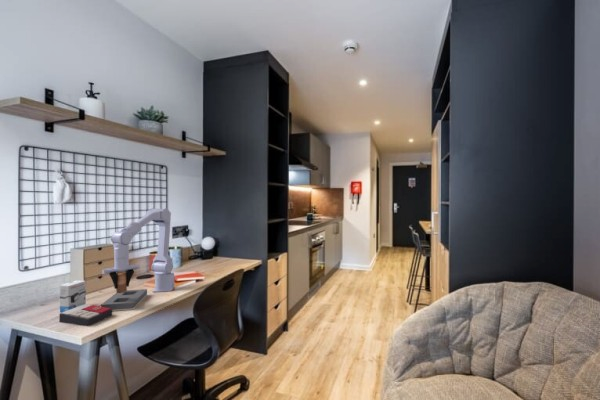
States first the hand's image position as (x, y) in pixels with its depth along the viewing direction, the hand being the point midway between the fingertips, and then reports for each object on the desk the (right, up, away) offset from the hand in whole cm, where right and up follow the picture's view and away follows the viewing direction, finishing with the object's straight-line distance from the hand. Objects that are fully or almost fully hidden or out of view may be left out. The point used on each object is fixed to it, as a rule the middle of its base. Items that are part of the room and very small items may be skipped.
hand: (121, 287), depth 135 cm
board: (-1, -9, +5) cm, 10 cm away
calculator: (-6, -10, -13) cm, 18 cm away
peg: (0, -2, 0) cm, 2 cm away
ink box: (-20, -9, -3) cm, 22 cm away
